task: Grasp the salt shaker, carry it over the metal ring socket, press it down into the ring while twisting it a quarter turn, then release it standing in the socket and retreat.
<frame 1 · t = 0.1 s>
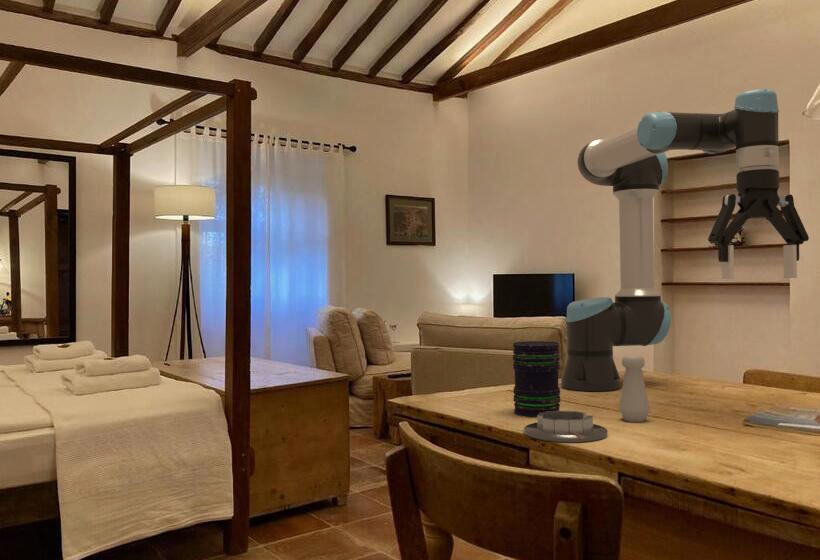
hand: (759, 278, 136), 28 cm above the table, fingers open, 13 cm apart
socket: (565, 433, 128), on the table
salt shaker: (634, 421, 139), on the table
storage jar: (537, 414, 148), on the table
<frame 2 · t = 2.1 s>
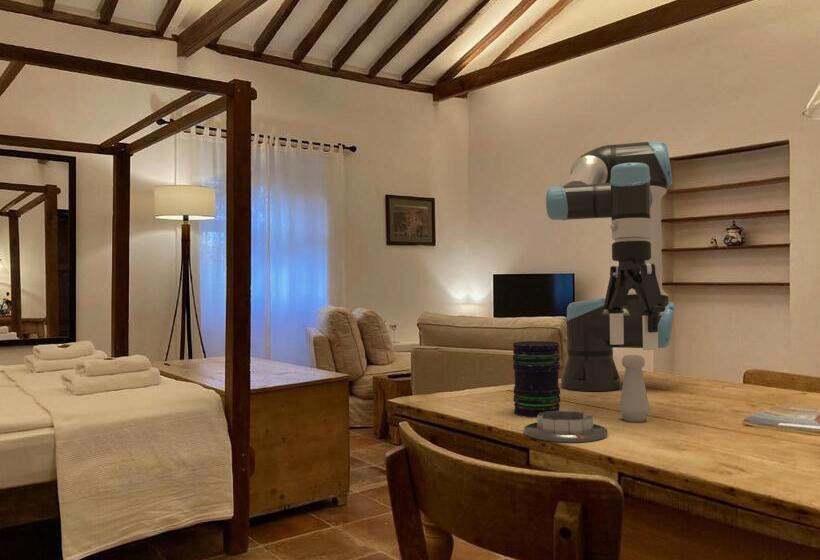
hand: (632, 347, 138), 15 cm above the table, fingers open, 13 cm apart
nothing on the table moved.
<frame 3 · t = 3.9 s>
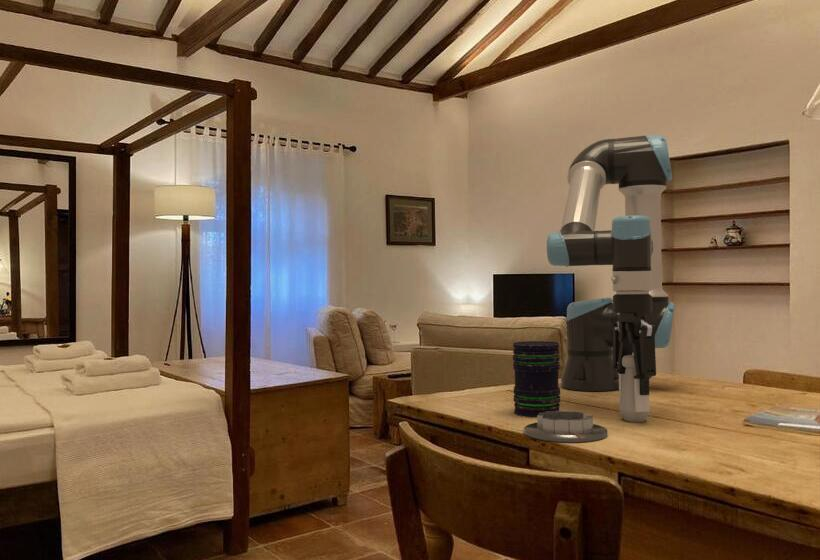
hand: (634, 408, 139), 2 cm above the table, fingers closed on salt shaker, 6 cm apart
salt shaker: (634, 421, 139), on the table, touching gripper
everything else where it was.
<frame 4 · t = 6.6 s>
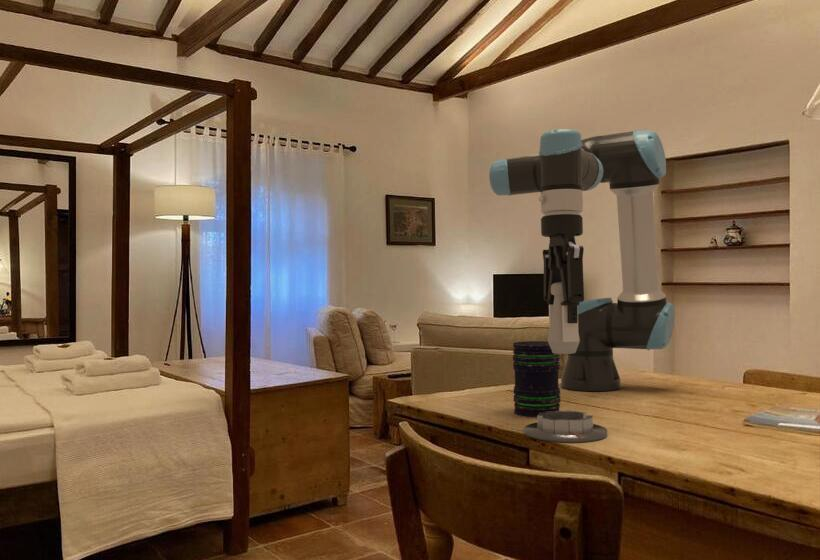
hand: (563, 340, 128), 17 cm above the table, fingers closed on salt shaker, 6 cm apart
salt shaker: (563, 353, 128), point 15 cm above the table, touching gripper
everything else where it was.
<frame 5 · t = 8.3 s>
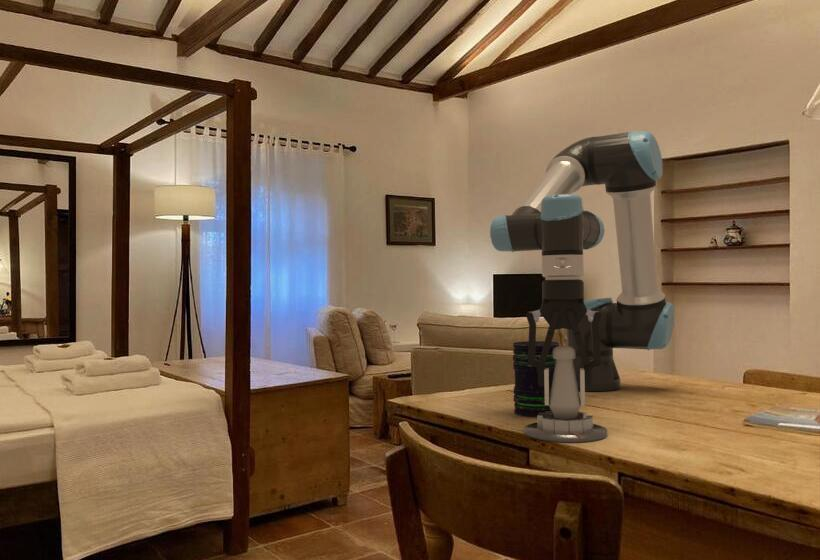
hand: (564, 404, 128), 5 cm above the table, fingers closed on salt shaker, 6 cm apart
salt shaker: (564, 417, 128), point 3 cm above the table, touching gripper
everything else where it was.
when the fingers open (4 cm above the table, at t = 9.6 s): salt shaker stays where it is, resting on socket.
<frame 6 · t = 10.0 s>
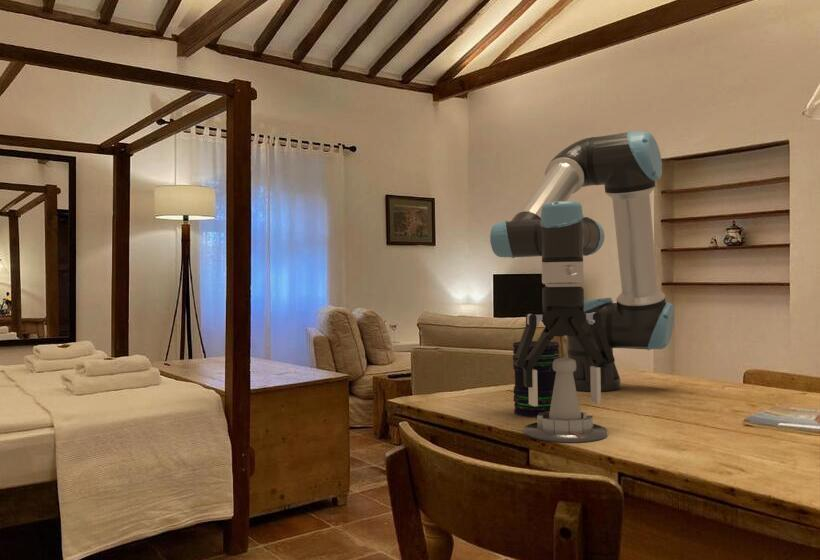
hand: (564, 403, 128), 5 cm above the table, fingers open, 11 cm apart
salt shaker: (565, 429, 128), point 1 cm above the table, touching socket
everything else where it was.
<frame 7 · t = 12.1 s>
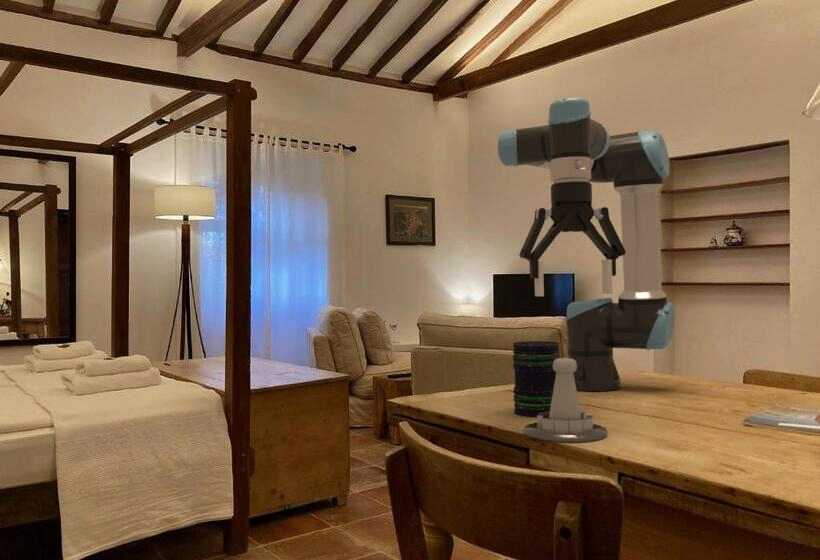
hand: (573, 295, 131), 25 cm above the table, fingers open, 13 cm apart
nothing on the table moved.
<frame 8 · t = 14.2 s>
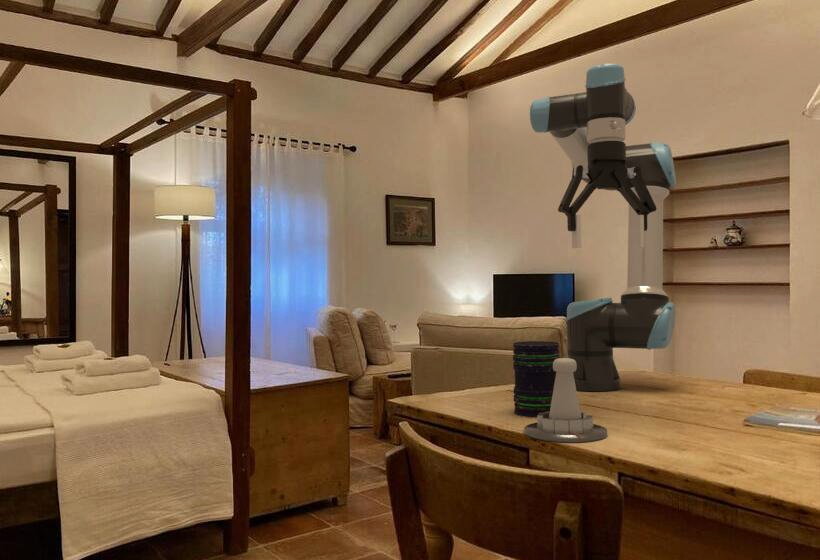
hand: (608, 247, 140), 35 cm above the table, fingers open, 13 cm apart
nothing on the table moved.
at the end: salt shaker 0.1 cm from the socket (horizontally); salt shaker point 0.6 cm above the table; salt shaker tilted 0° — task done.
